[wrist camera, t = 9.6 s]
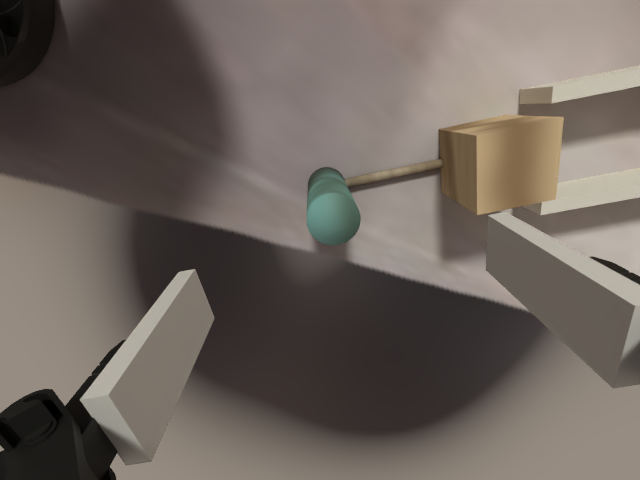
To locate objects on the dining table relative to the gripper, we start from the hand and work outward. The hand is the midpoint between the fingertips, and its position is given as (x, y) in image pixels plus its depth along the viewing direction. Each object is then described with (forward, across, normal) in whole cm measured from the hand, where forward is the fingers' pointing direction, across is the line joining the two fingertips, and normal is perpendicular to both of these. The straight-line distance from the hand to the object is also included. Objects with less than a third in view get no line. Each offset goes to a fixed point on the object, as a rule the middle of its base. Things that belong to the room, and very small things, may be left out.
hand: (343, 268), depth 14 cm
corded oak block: (+17, +8, 0) cm, 19 cm away
